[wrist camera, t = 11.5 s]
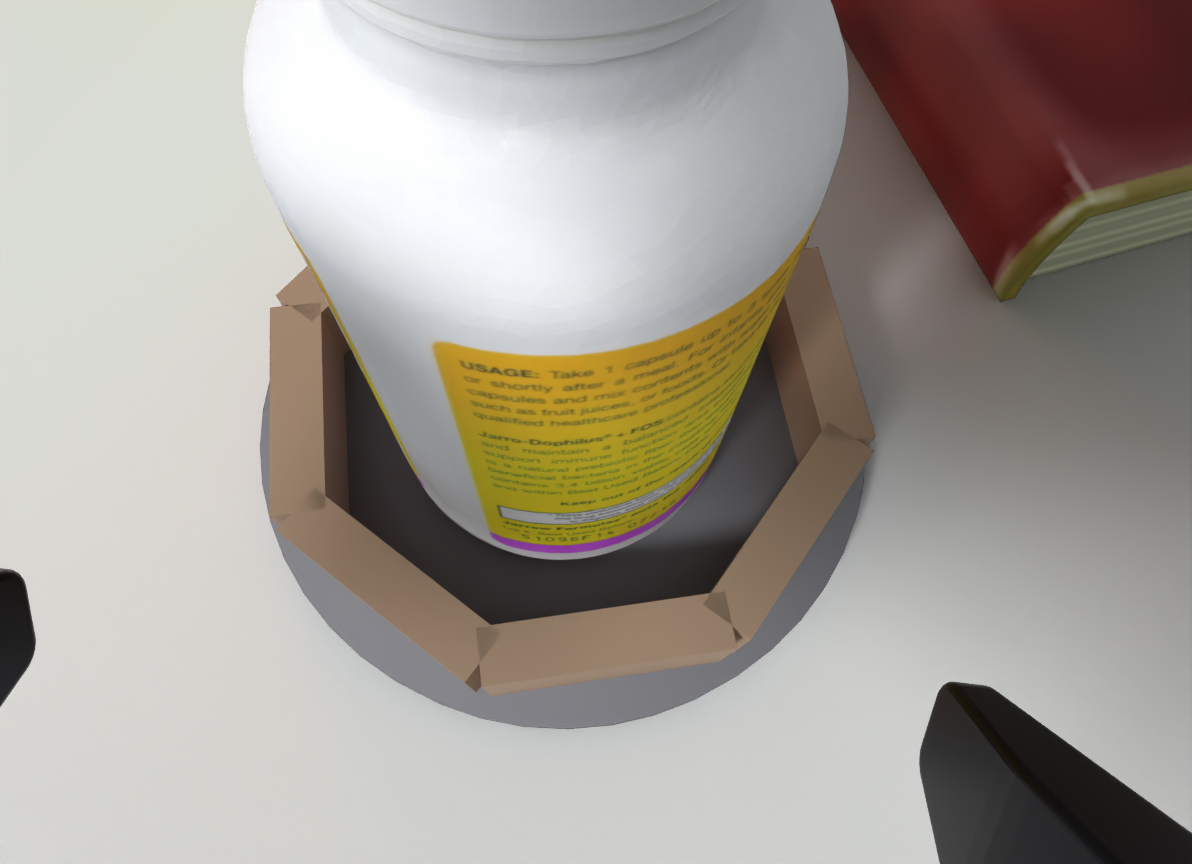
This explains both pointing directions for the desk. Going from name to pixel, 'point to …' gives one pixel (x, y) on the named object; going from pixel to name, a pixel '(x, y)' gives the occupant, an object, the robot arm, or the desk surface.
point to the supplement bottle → (550, 231)
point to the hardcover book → (1039, 120)
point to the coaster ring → (575, 586)
